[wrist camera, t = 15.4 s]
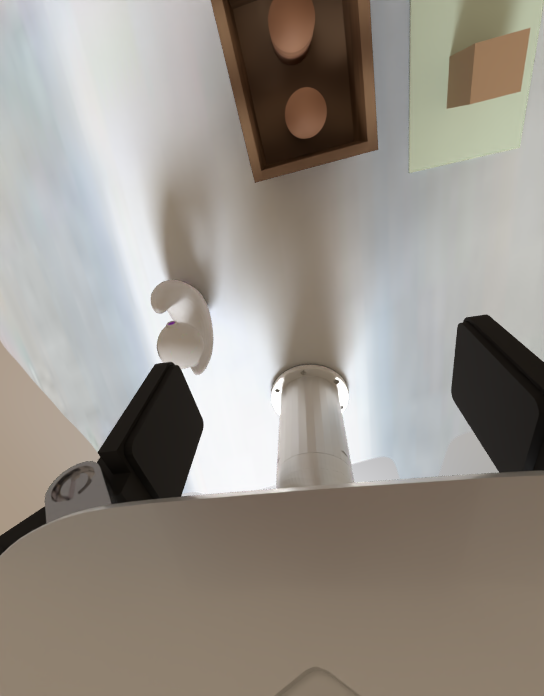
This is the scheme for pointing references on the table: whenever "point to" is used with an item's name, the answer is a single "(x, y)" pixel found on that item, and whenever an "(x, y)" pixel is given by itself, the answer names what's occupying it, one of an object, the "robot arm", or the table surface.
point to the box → (300, 80)
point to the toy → (183, 325)
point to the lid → (469, 77)
